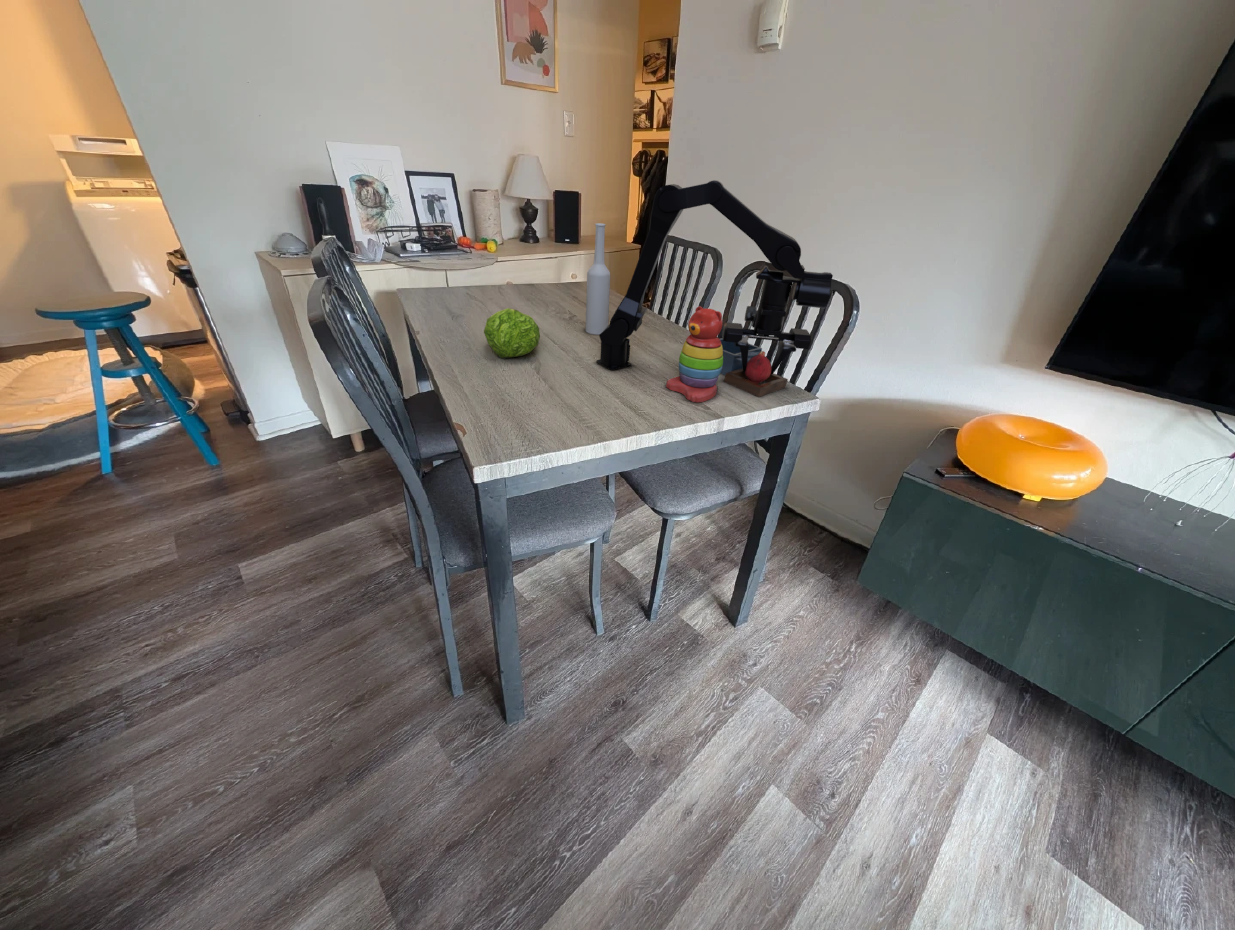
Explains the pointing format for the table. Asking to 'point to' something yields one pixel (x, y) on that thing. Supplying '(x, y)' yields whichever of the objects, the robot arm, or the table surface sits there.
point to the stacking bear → (700, 357)
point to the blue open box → (735, 356)
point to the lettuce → (511, 333)
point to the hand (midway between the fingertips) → (757, 372)
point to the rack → (771, 386)
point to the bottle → (598, 287)
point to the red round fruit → (758, 368)
